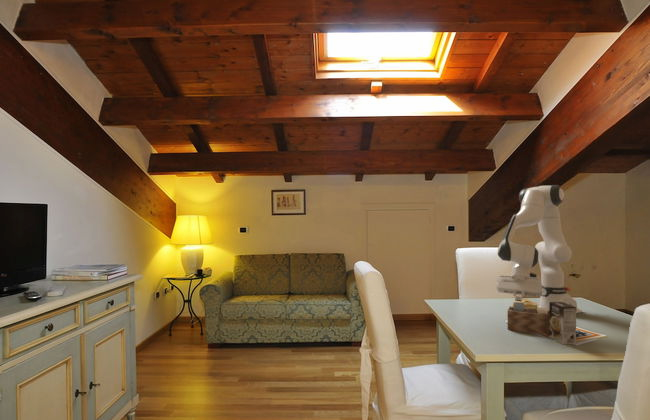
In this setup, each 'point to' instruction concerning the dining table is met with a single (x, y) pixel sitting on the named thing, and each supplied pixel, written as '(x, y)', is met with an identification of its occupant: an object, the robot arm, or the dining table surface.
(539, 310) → the white key
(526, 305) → the sculpture
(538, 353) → the dining table surface
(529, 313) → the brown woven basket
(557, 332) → the coffee box
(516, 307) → the blue key
